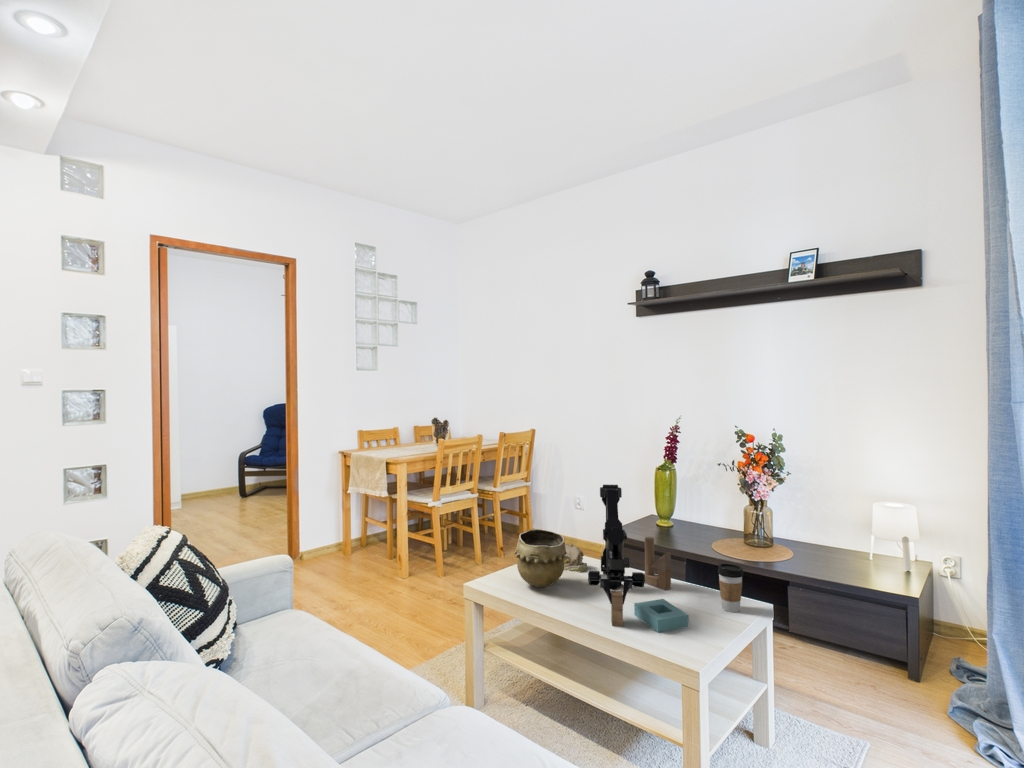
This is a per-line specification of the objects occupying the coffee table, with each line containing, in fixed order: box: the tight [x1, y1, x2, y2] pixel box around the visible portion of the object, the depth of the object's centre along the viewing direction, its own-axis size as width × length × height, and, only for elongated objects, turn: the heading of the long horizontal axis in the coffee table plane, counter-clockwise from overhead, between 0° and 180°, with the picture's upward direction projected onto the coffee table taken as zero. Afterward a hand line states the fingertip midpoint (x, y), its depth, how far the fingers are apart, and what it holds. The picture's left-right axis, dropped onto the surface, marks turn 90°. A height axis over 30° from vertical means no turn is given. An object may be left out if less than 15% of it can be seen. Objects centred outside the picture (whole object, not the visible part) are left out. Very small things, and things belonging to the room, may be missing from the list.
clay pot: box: [513, 528, 567, 588], centre depth 216 cm, size 21×21×20 cm
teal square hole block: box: [633, 598, 689, 633], centre depth 183 cm, size 14×12×4 cm
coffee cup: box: [717, 563, 744, 613], centre depth 192 cm, size 8×8×15 cm
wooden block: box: [643, 536, 672, 591], centre depth 215 cm, size 4×11×18 cm, turn 39°
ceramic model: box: [563, 543, 588, 572], centre depth 237 cm, size 14×11×10 cm
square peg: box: [610, 590, 624, 627], centre depth 181 cm, size 4×4×10 cm
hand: (617, 603), depth 180 cm, fingers closed on square peg, 3 cm apart
